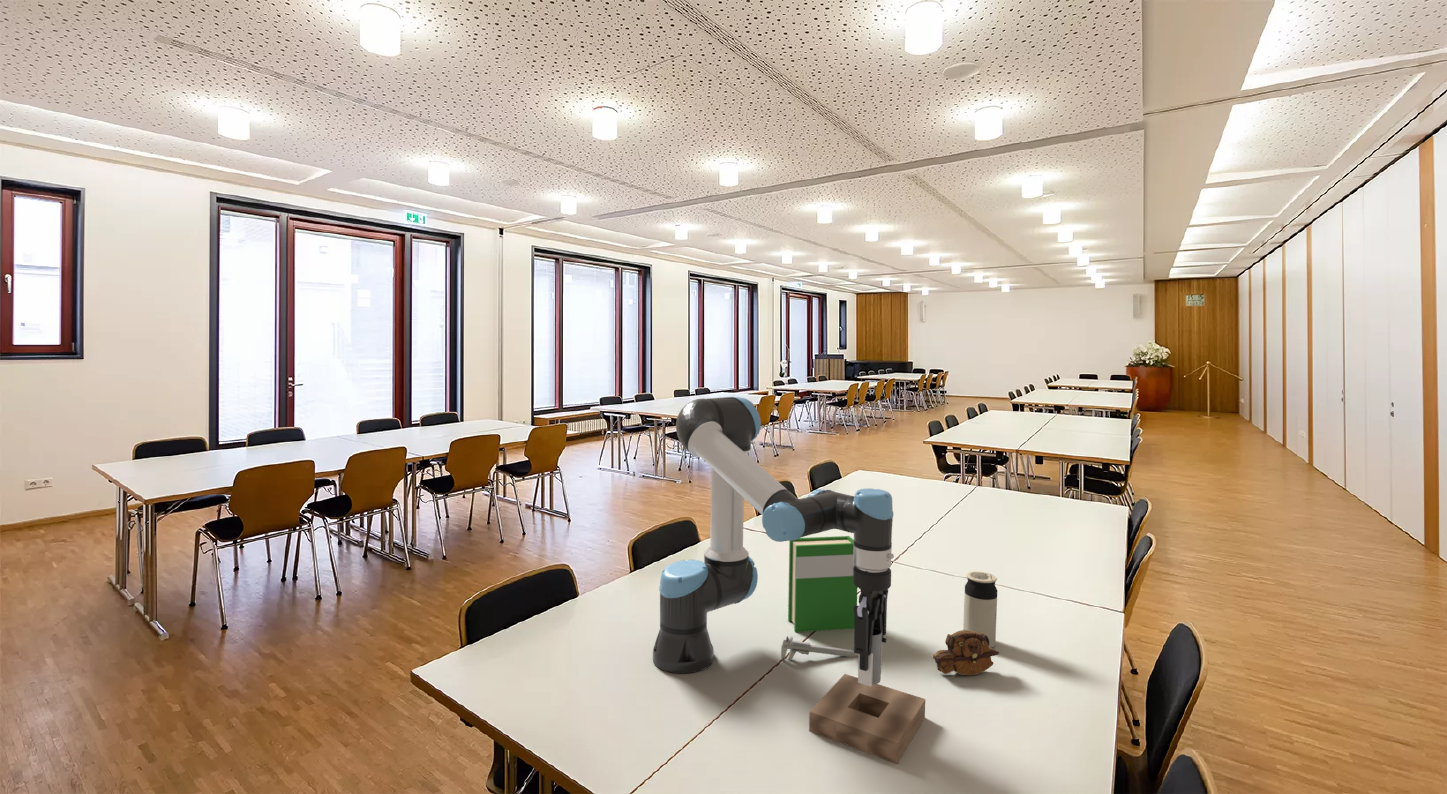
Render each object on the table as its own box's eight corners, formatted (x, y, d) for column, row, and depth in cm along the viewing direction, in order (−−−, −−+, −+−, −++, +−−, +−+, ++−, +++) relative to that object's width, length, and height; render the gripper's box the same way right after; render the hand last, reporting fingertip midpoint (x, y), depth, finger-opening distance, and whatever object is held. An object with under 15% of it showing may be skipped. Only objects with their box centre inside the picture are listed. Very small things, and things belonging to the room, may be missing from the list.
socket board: (809, 730, 125) (809, 711, 125) (844, 690, 140) (844, 673, 140) (896, 763, 115) (897, 743, 115) (924, 717, 130) (925, 699, 130)
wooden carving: (942, 683, 144) (943, 641, 143) (930, 673, 148) (932, 632, 147) (1001, 674, 148) (1003, 633, 147) (989, 664, 152) (990, 625, 152)
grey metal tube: (877, 673, 129) (878, 625, 128) (883, 684, 124) (884, 634, 124) (855, 673, 129) (856, 625, 128) (861, 685, 124) (862, 635, 124)
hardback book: (795, 632, 169) (796, 546, 168) (788, 620, 177) (789, 538, 175) (856, 628, 172) (858, 543, 171) (846, 617, 179) (848, 535, 178)
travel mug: (961, 645, 163) (963, 578, 161) (964, 633, 170) (967, 569, 168) (994, 652, 159) (996, 583, 158) (996, 639, 166) (999, 574, 165)
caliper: (782, 662, 153) (782, 637, 153) (781, 660, 154) (781, 635, 154) (860, 657, 156) (861, 633, 156) (859, 655, 157) (859, 631, 157)
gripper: (874, 583, 116) (872, 703, 117) (904, 558, 130) (901, 665, 132) (837, 575, 120) (835, 691, 121) (870, 552, 134) (867, 656, 136)
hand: (869, 677), depth 127 cm, fingers closed on grey metal tube, 4 cm apart
